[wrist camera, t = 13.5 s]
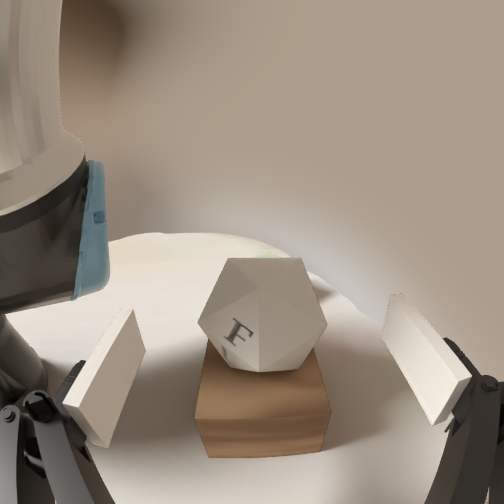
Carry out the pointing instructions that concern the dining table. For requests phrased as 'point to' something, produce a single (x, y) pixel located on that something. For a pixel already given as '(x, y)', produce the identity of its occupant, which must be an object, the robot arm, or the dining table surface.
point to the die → (263, 314)
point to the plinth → (260, 409)
